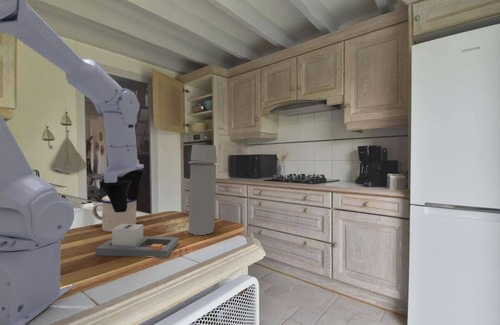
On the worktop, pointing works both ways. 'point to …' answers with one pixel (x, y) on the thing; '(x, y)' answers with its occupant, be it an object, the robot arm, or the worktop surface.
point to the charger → (127, 235)
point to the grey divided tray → (140, 247)
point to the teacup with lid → (115, 214)
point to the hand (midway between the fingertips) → (127, 205)
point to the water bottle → (202, 189)
